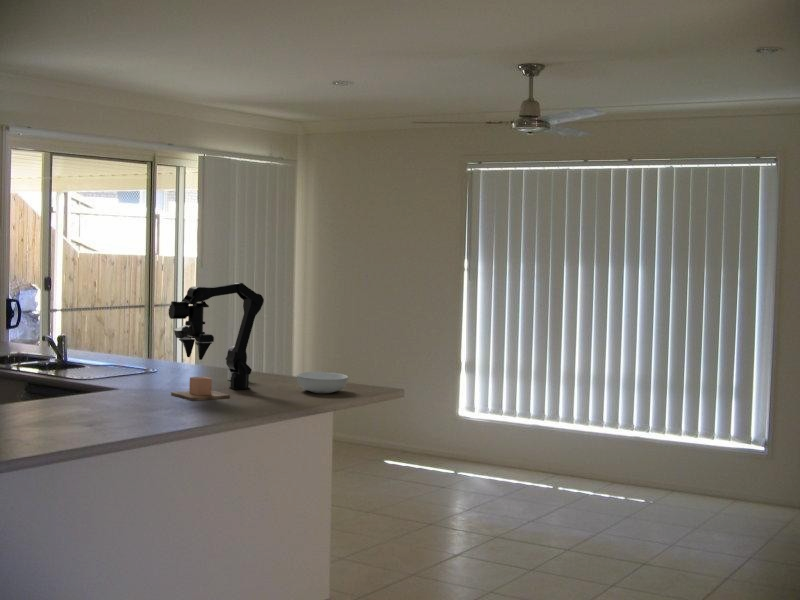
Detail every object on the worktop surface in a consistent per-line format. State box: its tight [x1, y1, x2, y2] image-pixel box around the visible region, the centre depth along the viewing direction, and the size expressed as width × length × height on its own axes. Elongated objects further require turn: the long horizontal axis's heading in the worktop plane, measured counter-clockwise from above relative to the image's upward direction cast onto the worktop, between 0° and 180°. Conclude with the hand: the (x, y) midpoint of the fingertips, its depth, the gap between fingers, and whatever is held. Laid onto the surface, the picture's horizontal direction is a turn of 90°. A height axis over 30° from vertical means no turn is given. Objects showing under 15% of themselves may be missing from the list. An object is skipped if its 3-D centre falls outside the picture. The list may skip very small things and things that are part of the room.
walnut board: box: [170, 390, 231, 402], centre depth 357 cm, size 16×16×1 cm
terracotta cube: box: [188, 376, 213, 395], centre depth 357 cm, size 6×6×6 cm
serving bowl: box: [296, 371, 349, 394], centre depth 381 cm, size 21×21×7 cm
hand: (194, 358), depth 368 cm, fingers open, 9 cm apart
